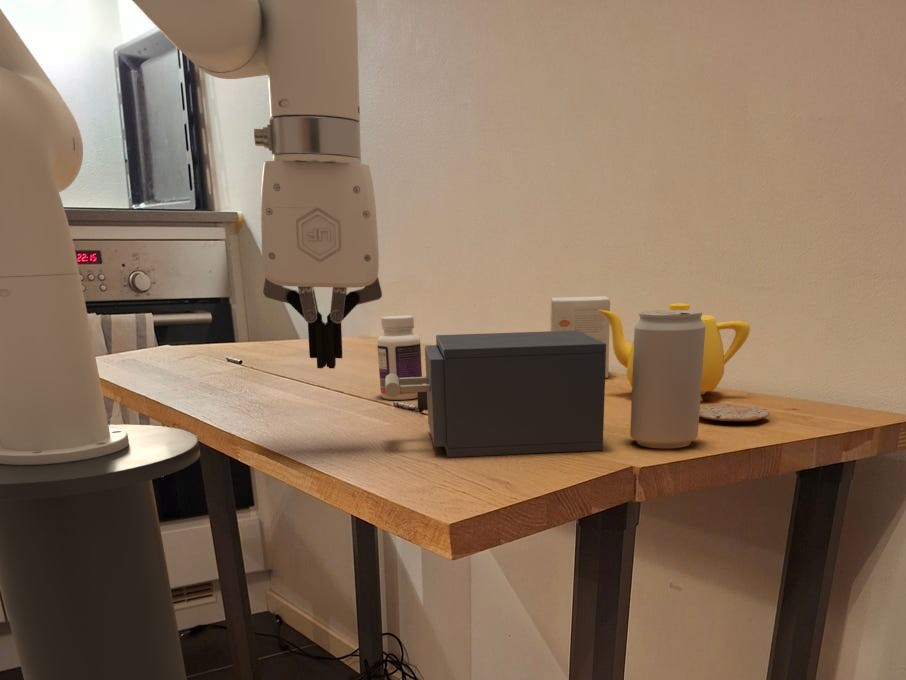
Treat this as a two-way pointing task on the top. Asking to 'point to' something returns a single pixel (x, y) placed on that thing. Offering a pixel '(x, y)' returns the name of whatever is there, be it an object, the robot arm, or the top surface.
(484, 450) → the cabinet
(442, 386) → the drawer
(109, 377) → the top surface
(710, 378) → the teapot
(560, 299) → the small box
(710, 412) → the flatbread
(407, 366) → the pill bottle
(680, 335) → the beverage can
